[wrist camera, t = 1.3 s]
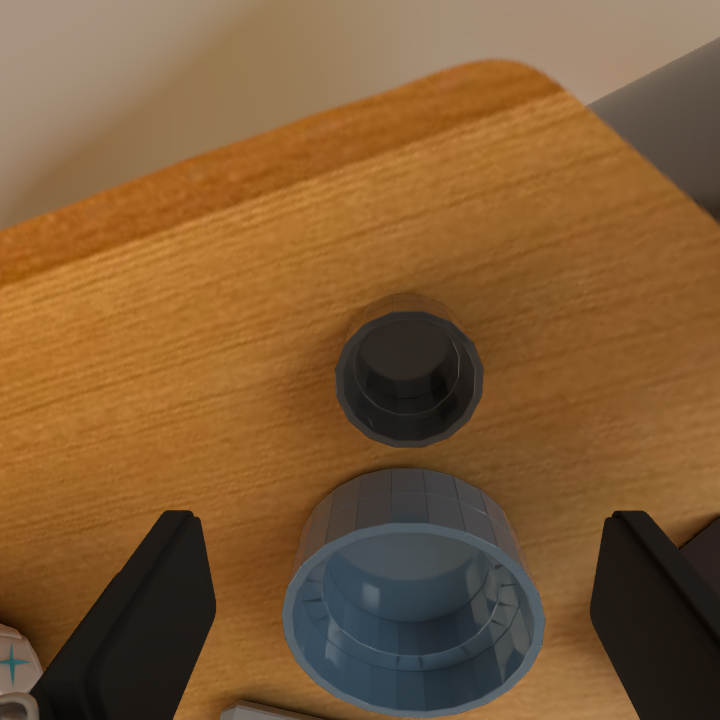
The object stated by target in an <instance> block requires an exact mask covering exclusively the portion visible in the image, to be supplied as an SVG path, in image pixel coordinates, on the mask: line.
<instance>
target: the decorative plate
mask: <svg viewBox="0 0 720 720" xmlns="http://www.w3.org/2000/svg"><path fill="white" fill-rule="evenodd" d="M220 720H325V719H321V718H317V717H313V716H308V715H304V714H300V713H296V712H291V711H287V710H283V709H278V708H274V707H270V706H266V705H261V704H257V703H253V702H249V701H244V700H240V699H239V700H238V701H236V702H234V703H233V704H231V705H229V706H228V707H226V708H224V709H223V710H222V711H221V715H220Z"/></svg>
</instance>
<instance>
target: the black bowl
mask: <svg viewBox="0 0 720 720" xmlns="http://www.w3.org/2000/svg"><path fill="white" fill-rule="evenodd" d="M483 370H484V369H483V365H482V363H481V360H480V358H479V355H478V353H477V350H476V348H475V345H474V343H473V341H472V339H471V338H470V336H469V335H468V333H467V331H466V330H465V328H464V326H463V325H462V323H461V322H460V320H459V319H458V318H457V317H456V316H455V315H454V314H453V313H452V312H451V311H450V310H449V309H448V308H447V307H446V306H445V305H444V304H442V303H441V302H438V301H435V300H433V299H430V298H428V297H425V296H422V295H420V294H401V295H390V296H388V297H386V298H384V299H381V300H379V301H377V302H375V303H372V304H370V305H369V306H367V307H366V308H365V309H364V310H363V312H362V313H361V314H360V315H359V316H358V317H357V318H356V319H355V320H354V321H353V322H352V324H351V326H350V328H349V331H348V334H347V336H346V339H345V342H344V345H343V347H342V350H341V353H340V356H339V359H338V362H337V365H336V368H335V384H336V397H337V399H338V401H339V403H340V405H341V407H342V409H343V411H344V413H345V415H346V417H347V419H348V420H349V422H351V423H352V424H353V425H354V426H355V427H356V428H358V429H359V430H360V431H361V432H362V433H363V434H365V435H366V436H367V437H368V438H370V439H373V440H375V441H378V442H381V443H384V444H386V445H389V446H392V447H396V448H397V447H425V446H428V445H431V444H433V443H436V442H439V441H442V440H444V439H447V438H448V437H450V436H452V435H453V434H454V433H455V432H456V431H457V430H459V429H460V428H461V427H462V426H463V425H464V424H465V423H467V422H468V421H469V420H470V418H471V416H472V414H473V412H474V410H475V408H476V406H477V405H478V403H479V401H480V399H481V397H482V389H483Z"/></svg>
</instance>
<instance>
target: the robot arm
mask: <svg viewBox="0 0 720 720" xmlns="http://www.w3.org/2000/svg"><path fill="white" fill-rule="evenodd" d="M215 613H216V599H215V594H214V589H213V584H212V578H211V573H210V568H209V562H208V557H207V552H206V547H205V541H204V536H203V531H202V525H201V521H200V518H199V517H194V515H193V513H192V511H189V510H167V511H165V512H164V513H163V514H162V515H161V516H160V518H159V519H158V520H157V522H156V523H155V524H154V526H153V527H152V529H151V530H150V531H149V533H148V534H147V535H146V537H145V538H144V540H143V541H142V542H141V544H140V545H139V546H138V548H137V549H136V551H135V552H134V553H133V555H132V556H131V557H130V559H129V560H128V562H127V563H126V564H125V566H124V567H123V568H122V570H121V571H120V572H119V573H118V574H117V575H116V576H115V577H114V578H113V579H112V580H111V582H110V583H109V584H108V586H107V587H106V589H105V590H104V591H103V593H102V594H101V595H100V597H99V598H98V599H97V601H96V602H95V604H94V605H93V606H92V608H91V609H90V610H89V612H88V613H87V614H86V616H85V617H84V619H83V620H82V621H81V623H80V624H79V625H78V627H77V628H76V629H75V631H74V632H73V633H72V635H71V636H70V638H69V639H68V640H67V642H66V643H65V644H64V646H63V647H62V648H61V650H60V651H59V653H58V654H57V655H56V657H55V658H54V659H53V661H52V662H51V663H50V665H49V666H48V668H47V669H46V670H45V672H44V673H43V674H42V676H41V677H40V678H39V680H38V681H37V682H36V684H35V685H34V687H33V688H32V689H31V691H30V692H29V693H22V692H13V693H8V694H2V695H0V720H173V717H174V715H175V712H176V710H177V708H178V705H179V703H180V700H181V698H182V695H183V693H184V691H185V688H186V686H187V683H188V681H189V679H190V676H191V674H192V671H193V669H194V667H195V664H196V662H197V659H198V657H199V655H200V652H201V650H202V647H203V645H204V642H205V640H206V638H207V635H208V633H209V630H210V628H211V626H212V623H213V621H214V618H215ZM590 616H591V620H592V624H593V626H594V628H595V630H596V632H597V634H598V636H599V638H600V640H601V642H602V644H603V646H604V648H605V650H606V652H607V654H608V656H609V658H610V660H611V662H612V664H613V666H614V668H615V670H616V672H617V674H618V676H619V678H620V680H621V682H622V684H623V686H624V688H625V690H626V692H627V694H628V696H629V698H630V700H631V702H632V704H633V706H634V708H635V710H636V712H637V714H638V716H639V718H640V720H720V596H719V595H718V594H717V593H716V592H715V590H714V589H713V588H712V587H711V586H710V585H709V584H708V583H707V582H706V581H705V580H704V579H703V577H702V576H701V575H700V574H699V573H698V572H697V570H696V569H695V568H694V567H693V566H692V565H691V563H690V562H689V561H688V560H687V559H686V558H685V557H684V555H683V554H682V553H681V552H680V551H679V550H678V548H677V547H676V546H675V545H674V544H673V543H672V541H671V540H670V539H669V538H668V537H667V536H666V535H665V533H664V532H663V531H662V530H661V529H660V528H659V526H658V525H657V524H656V523H655V522H654V521H653V519H652V518H651V517H650V516H649V515H648V514H647V513H646V512H644V511H614V513H613V514H612V517H608V518H606V519H605V522H604V527H603V533H602V539H601V545H600V551H599V557H598V563H597V569H596V575H595V580H594V586H593V592H592V598H591V604H590Z"/></svg>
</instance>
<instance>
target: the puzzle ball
mask: <svg viewBox="0 0 720 720" xmlns="http://www.w3.org/2000/svg"><path fill="white" fill-rule="evenodd" d="M43 673H44V672H43V670H42V667H41V664H40V662H39V659H38V656H37V654H36V653H35V651H34V649H33V648H32V646H31V644H30V643H29V641H28V639H27V638H26V637H25V636H23V635H21V634H20V633H19V632H18V631H17V629H14V628H11V627H8V626H5V625H2V624H0V695H2V694H8V693H13V692H22V693H29V692H30V691H31V689H32V688H33V687H34V685H35V684H36V682H37V681H38V680H39V678H40V677H41V676H42V674H43Z"/></svg>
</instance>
